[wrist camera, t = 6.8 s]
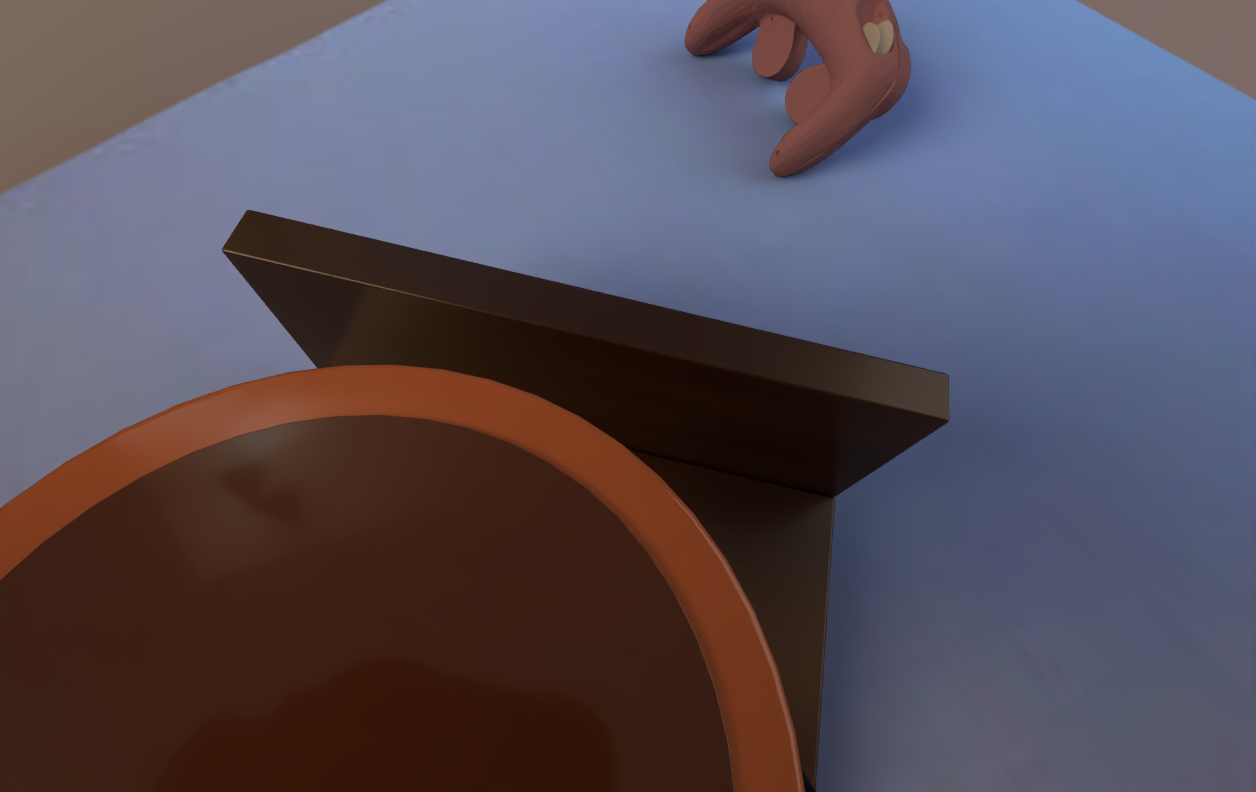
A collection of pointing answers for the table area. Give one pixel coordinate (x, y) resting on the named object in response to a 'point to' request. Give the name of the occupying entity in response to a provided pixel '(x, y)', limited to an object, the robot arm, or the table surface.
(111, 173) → the table surface
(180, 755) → the cup
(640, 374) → the dark brown wooden piece
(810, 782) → the robot arm
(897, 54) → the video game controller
